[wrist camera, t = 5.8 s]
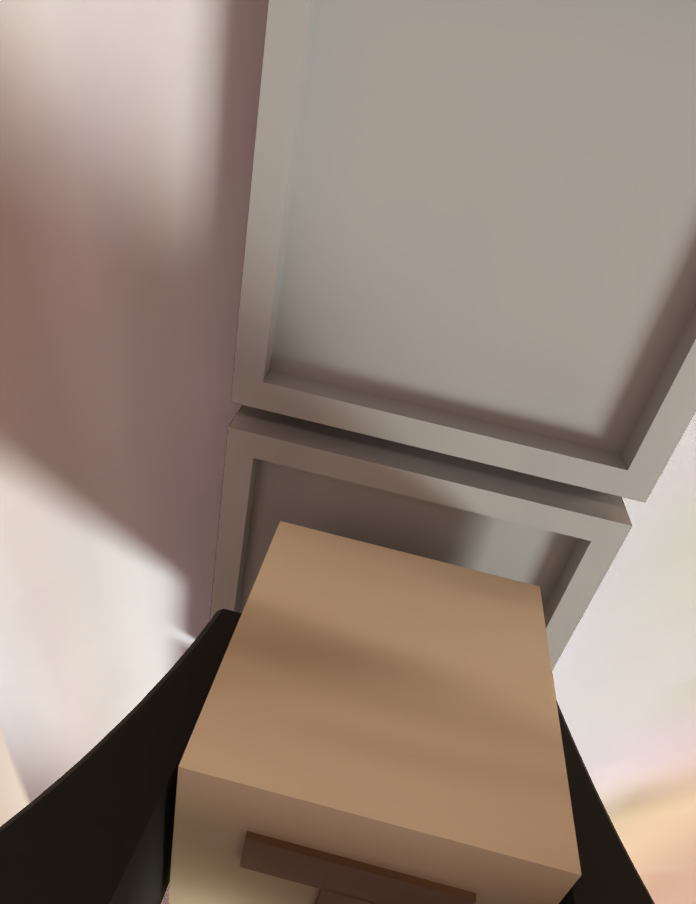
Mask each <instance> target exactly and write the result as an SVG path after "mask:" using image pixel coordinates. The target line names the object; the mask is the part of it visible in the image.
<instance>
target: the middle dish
mask: <svg viewBox="0 0 696 904" xmlns="http://www.w3.org/2000/svg"><path fill="white" fill-rule="evenodd" d="M280 521H282V522H286V523H290V524H294V525H298V526H302V527H306V528H310V529H314V530H318V531H322V532H326V533H330V534H334V535H338V536H342V537H346V538H350V539H354V540H358V541H362V542H366V543H370V544H374V545H378V546H381V547H385V548H389V549H393V550H397V551H401V552H405V553H409V554H413V555H417V556H421V557H425V558H429V559H433V560H437V561H441V562H445V563H449V564H453V565H457V566H461V567H465V568H469V569H473V570H477V571H481V572H484V573H488V574H492V575H496V576H500V577H504V578H508V579H512V580H516V581H520V582H524V583H528V584H532V585H536V586H540V591H541V598H542V605H543V612H544V619H545V626H546V633H547V639H548V646H549V653H550V660H551V667H552V670H553V668H554V666H555V665H556V663H557V661H558V659H559V657H560V656H561V654H562V652H563V650H564V648H565V647H566V645H567V643H568V641H569V639H570V637H571V636H572V634H573V632H574V630H575V628H576V627H577V625H578V623H579V621H580V619H581V618H582V616H583V614H584V612H585V610H586V609H587V607H588V605H589V603H590V601H591V600H592V598H593V596H594V594H595V592H596V591H597V589H598V587H599V585H600V583H601V582H602V580H603V578H604V576H605V574H606V573H607V571H608V569H609V567H610V565H611V563H612V562H613V560H614V558H615V556H616V554H617V553H618V551H619V549H620V547H621V545H622V544H623V542H624V540H625V538H626V536H627V535H628V533H629V531H630V529H631V527H632V524H631V521H630V519H629V516H628V513H627V510H626V508H625V505H624V502H623V499H622V497H620V496H616V495H612V494H608V493H604V492H599V491H595V490H591V489H587V488H583V487H579V486H575V485H571V484H567V483H562V482H558V481H554V480H550V479H546V478H542V477H538V476H534V475H530V474H525V473H521V472H517V471H513V470H509V469H505V468H501V467H497V466H493V465H488V464H484V463H480V462H476V461H472V460H468V459H464V458H460V457H456V456H451V455H447V454H443V453H439V452H435V451H431V450H427V449H423V448H418V447H414V446H410V445H406V444H402V443H398V442H394V441H390V440H386V439H381V438H377V437H373V436H369V435H365V434H361V433H357V432H353V431H349V430H344V429H340V428H336V427H332V426H328V425H324V424H320V423H316V422H312V421H307V420H303V419H299V418H295V417H291V416H287V415H283V414H279V413H275V412H270V411H266V410H262V409H258V408H254V407H250V406H246V405H242V407H241V408H240V410H239V411H238V413H237V414H236V416H235V417H234V419H233V420H232V422H231V423H230V425H229V426H228V432H227V443H226V453H225V464H224V474H223V485H222V495H221V505H220V516H219V526H218V537H217V547H216V558H215V568H214V579H213V589H212V600H211V610H210V620H211V619H212V617H213V616H214V614H215V613H216V611H219V610H221V609H227V610H231V611H235V612H239V613H242V612H243V610H244V607H245V605H246V602H247V600H248V597H249V595H250V593H251V590H252V588H253V585H254V583H255V581H256V578H257V576H258V573H259V571H260V569H261V566H262V564H263V561H264V559H265V556H266V554H267V552H268V549H269V547H270V544H271V542H272V540H273V537H274V535H275V532H276V530H277V528H278V525H279V523H280ZM209 622H210V621H209Z"/></svg>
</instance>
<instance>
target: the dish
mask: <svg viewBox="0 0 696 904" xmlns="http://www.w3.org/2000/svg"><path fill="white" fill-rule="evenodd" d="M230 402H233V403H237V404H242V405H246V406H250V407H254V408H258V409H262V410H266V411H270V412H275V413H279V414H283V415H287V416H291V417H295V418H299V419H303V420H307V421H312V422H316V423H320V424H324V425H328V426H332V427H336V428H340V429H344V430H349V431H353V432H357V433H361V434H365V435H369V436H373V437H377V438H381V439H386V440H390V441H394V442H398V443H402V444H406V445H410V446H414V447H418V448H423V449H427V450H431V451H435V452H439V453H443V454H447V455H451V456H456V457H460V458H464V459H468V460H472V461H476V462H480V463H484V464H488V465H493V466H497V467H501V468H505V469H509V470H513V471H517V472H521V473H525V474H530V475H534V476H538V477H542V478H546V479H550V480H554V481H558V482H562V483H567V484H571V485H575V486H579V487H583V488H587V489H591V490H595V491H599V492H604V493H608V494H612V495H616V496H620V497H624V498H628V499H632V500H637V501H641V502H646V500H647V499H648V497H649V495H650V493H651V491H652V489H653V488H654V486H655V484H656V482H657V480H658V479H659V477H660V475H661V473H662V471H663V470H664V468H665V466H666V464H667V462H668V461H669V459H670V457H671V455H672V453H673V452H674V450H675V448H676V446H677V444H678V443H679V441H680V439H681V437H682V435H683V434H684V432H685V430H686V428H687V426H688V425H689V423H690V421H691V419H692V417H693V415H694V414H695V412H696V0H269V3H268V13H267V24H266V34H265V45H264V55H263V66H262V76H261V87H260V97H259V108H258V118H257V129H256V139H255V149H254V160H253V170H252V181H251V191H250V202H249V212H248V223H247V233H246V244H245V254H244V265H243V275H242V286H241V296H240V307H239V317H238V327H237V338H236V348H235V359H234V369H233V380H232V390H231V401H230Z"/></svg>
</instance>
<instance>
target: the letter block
mask: <svg viewBox="0 0 696 904" xmlns="http://www.w3.org/2000/svg"><path fill="white" fill-rule="evenodd" d="M580 876H581V868H580V861H579V854H578V847H577V840H576V833H575V826H574V820H573V813H572V806H571V799H570V792H569V785H568V778H567V771H566V764H565V757H564V750H563V743H562V736H561V729H560V723H559V716H558V709H557V702H556V695H555V688H554V681H553V674H552V667H551V660H550V653H549V646H548V639H547V633H546V626H545V619H544V612H543V605H542V598H541V591H540V586H536V585H532V584H528V583H524V582H520V581H516V580H512V579H508V578H504V577H500V576H496V575H492V574H488V573H484V572H481V571H477V570H473V569H469V568H465V567H461V566H457V565H453V564H449V563H445V562H441V561H437V560H433V559H429V558H425V557H421V556H417V555H413V554H409V553H405V552H401V551H397V550H393V549H389V548H385V547H381V546H378V545H374V544H370V543H366V542H362V541H358V540H354V539H350V538H346V537H342V536H338V535H334V534H330V533H326V532H322V531H318V530H314V529H310V528H306V527H302V526H298V525H294V524H290V523H286V522H282V521H280V523H279V525H278V528H277V530H276V532H275V535H274V537H273V540H272V542H271V544H270V547H269V549H268V552H267V554H266V556H265V559H264V561H263V564H262V566H261V569H260V571H259V573H258V576H257V578H256V581H255V583H254V585H253V588H252V590H251V593H250V595H249V597H248V600H247V602H246V605H245V607H244V610H243V612H242V614H241V617H240V619H239V622H238V624H237V626H236V629H235V631H234V634H233V636H232V638H231V641H230V643H229V646H228V648H227V650H226V653H225V655H224V658H223V660H222V663H221V665H220V667H219V670H218V672H217V675H216V677H215V679H214V682H213V684H212V687H211V689H210V691H209V694H208V696H207V699H206V701H205V704H204V706H203V708H202V711H201V713H200V716H199V718H198V720H197V723H196V725H195V728H194V730H193V732H192V735H191V737H190V740H189V742H188V745H187V747H186V749H185V752H184V754H183V757H182V759H181V761H180V764H179V766H178V778H177V791H176V804H175V818H174V831H173V845H172V858H171V871H170V885H169V898H168V904H559V903H560V901H561V900H562V899H563V898H564V896H565V895H566V894H567V893H568V891H569V890H570V889H571V888H572V886H573V885H574V884H575V883H576V881H577V880H578V879H579V878H580Z"/></svg>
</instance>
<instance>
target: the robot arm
mask: <svg viewBox="0 0 696 904" xmlns="http://www.w3.org/2000/svg"><path fill="white" fill-rule="evenodd" d="M241 614H242V613H239V612H235V611H231V610H227V609H221V610H219V611H216V613H215V614H214V616H213V617H212V619H211V620H210V622H209V623H208V624H207V626H206V627H205V628H204V629H203V631H202V632H201V633H200V635H199V636H198V637H197V639H196V640H195V641H194V642H193V644H192V645H191V646H190V647H189V648H188V650H187V651H186V652H185V653H184V654H183V655H182V657H181V658H180V659H179V660H178V661H177V662H176V664H175V665H174V666H173V667H172V668H171V669H170V670H169V672H168V673H167V674H166V675H165V676H164V677H163V678H162V679H161V680H160V681H159V682H158V683H157V685H156V686H155V687H154V688H153V689H152V690H151V691H150V692H149V693H148V694H147V695H146V696H145V697H144V699H143V700H142V701H141V702H140V703H139V704H138V705H137V706H136V707H135V708H134V709H133V710H132V711H131V712H130V713H129V714H128V715H127V716H126V717H125V718H124V719H123V720H122V721H121V722H120V723H119V724H118V725H117V726H116V727H115V728H114V729H113V730H112V731H110V732H109V733H108V734H107V735H106V736H105V737H104V738H103V739H102V740H101V741H100V742H99V743H98V744H97V745H96V746H95V747H94V748H93V749H92V750H91V751H90V752H89V753H87V754H86V755H85V756H84V757H83V758H82V759H81V760H80V761H79V762H78V763H76V764H75V765H74V766H73V767H72V768H71V769H70V770H69V771H67V772H66V773H65V774H64V775H63V776H62V777H61V778H59V779H58V780H57V781H56V782H55V783H54V784H52V785H51V786H50V787H49V788H48V789H47V790H45V791H44V792H43V793H42V794H41V795H40V796H38V797H37V798H36V799H35V800H34V801H32V802H31V803H30V804H29V805H27V806H26V807H25V808H24V809H22V810H21V811H20V812H19V813H17V814H16V815H15V816H14V817H12V818H11V819H10V820H9V821H7V822H6V823H5V824H4V825H2V826H1V827H0V904H161V902H162V899H163V897H164V894H165V892H166V889H167V886H168V884H169V881H170V871H171V858H172V845H173V831H174V818H175V804H176V791H177V778H178V766H179V764H180V761H181V759H182V757H183V754H184V752H185V749H186V747H187V745H188V742H189V740H190V737H191V735H192V732H193V730H194V728H195V725H196V723H197V720H198V718H199V716H200V713H201V711H202V708H203V706H204V704H205V701H206V699H207V696H208V694H209V691H210V689H211V687H212V684H213V682H214V679H215V677H216V675H217V672H218V670H219V667H220V665H221V663H222V660H223V658H224V655H225V653H226V650H227V648H228V646H229V643H230V641H231V638H232V636H233V634H234V631H235V629H236V626H237V624H238V622H239V619H240V617H241ZM556 702H557V701H556ZM557 709H558V716H559V723H560V729H561V736H562V743H563V750H564V757H565V764H566V771H567V778H568V785H569V792H570V799H571V806H572V813H573V820H574V826H575V833H576V840H577V847H578V854H579V861H580V868H581V876H580V878H579V879H578V880H577V881H576V883H575V884H574V885H573V886H572V888H571V889H570V890H569V891H568V893H567V894H566V895H565V896H564V898H563V899H562V900H561V901H560V903H559V904H655V903H654V902H653V900H652V898H651V896H650V894H649V892H648V891H647V889H646V887H645V885H644V883H643V881H642V880H641V878H640V876H639V874H638V872H637V870H636V869H635V867H634V865H633V863H632V861H631V859H630V857H629V855H628V853H627V851H626V849H625V848H624V846H623V844H622V842H621V840H620V838H619V836H618V834H617V832H616V830H615V828H614V826H613V824H612V822H611V820H610V817H609V815H608V813H607V811H606V809H605V807H604V805H603V803H602V801H601V799H600V797H599V795H598V793H597V791H596V789H595V787H594V784H593V782H592V780H591V778H590V776H589V774H588V771H587V769H586V767H585V765H584V763H583V760H582V758H581V756H580V754H579V751H578V749H577V747H576V745H575V742H574V740H573V738H572V736H571V733H570V731H569V729H568V726H567V724H566V722H565V719H564V717H563V715H562V712H561V710H560V708H559V705H558V703H557Z"/></svg>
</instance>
